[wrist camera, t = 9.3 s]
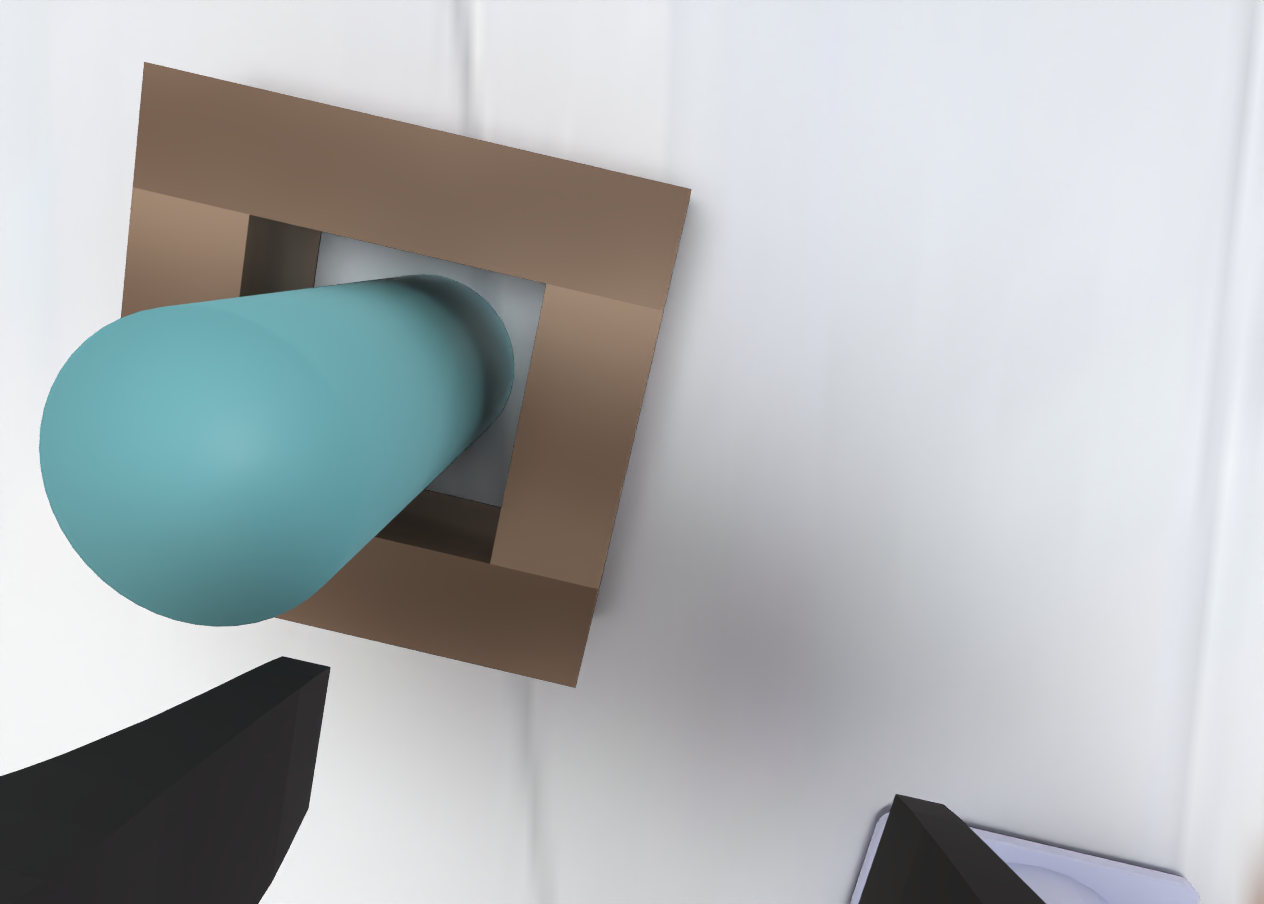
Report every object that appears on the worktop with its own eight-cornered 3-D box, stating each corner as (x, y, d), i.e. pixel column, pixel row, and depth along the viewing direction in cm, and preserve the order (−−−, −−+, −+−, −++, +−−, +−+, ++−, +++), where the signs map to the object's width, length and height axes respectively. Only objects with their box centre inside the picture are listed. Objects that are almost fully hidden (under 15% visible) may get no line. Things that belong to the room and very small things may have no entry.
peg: (491, 469, 21) (329, 662, 11) (325, 422, 21) (22, 577, 11) (532, 302, 20) (394, 358, 11) (359, 253, 20) (60, 265, 11)
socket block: (591, 617, 22) (575, 687, 18) (188, 524, 22) (97, 575, 19) (690, 198, 20) (691, 188, 16) (238, 92, 20) (144, 62, 16)
